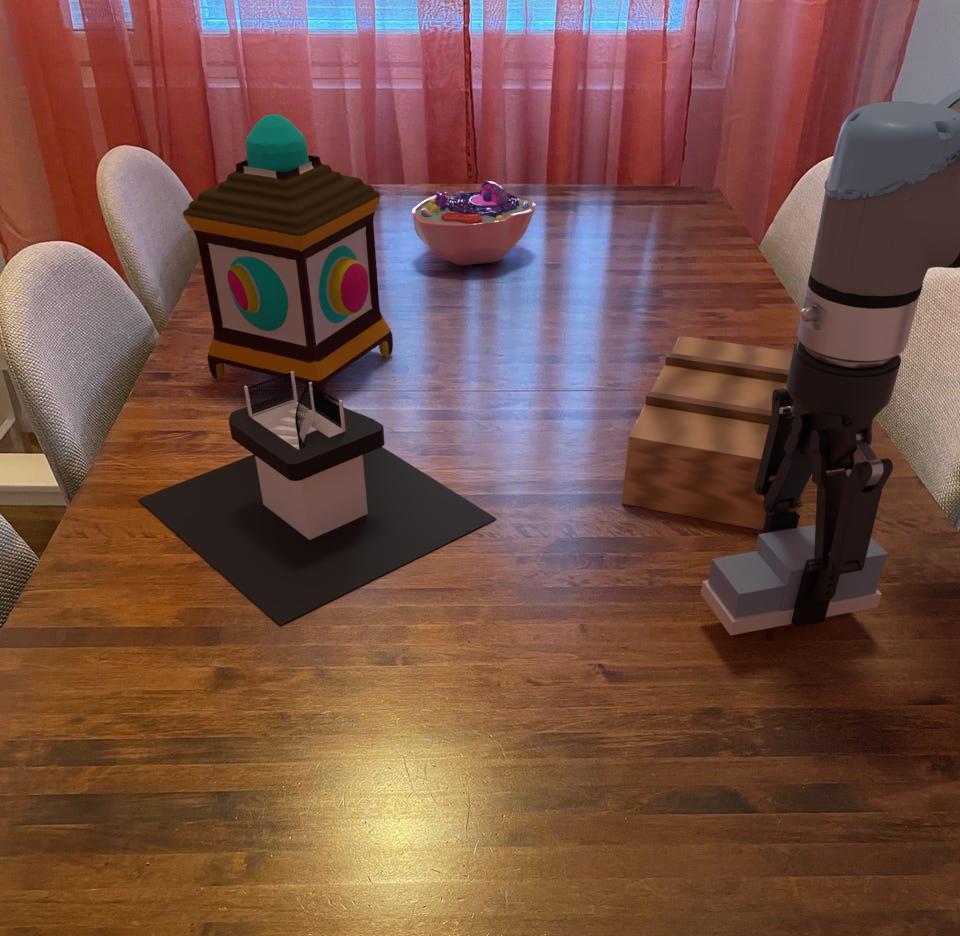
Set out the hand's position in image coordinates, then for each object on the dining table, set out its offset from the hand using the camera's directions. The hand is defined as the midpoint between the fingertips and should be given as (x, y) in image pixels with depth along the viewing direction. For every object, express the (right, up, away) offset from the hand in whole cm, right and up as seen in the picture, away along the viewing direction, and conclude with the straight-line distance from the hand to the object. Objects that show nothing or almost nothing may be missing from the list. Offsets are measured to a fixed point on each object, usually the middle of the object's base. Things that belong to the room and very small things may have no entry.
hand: (788, 598), depth 86 cm
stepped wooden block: (0, +17, +25) cm, 30 cm away
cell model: (-28, +58, +73) cm, 97 cm away
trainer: (0, 0, 0) cm, 0 cm away
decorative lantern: (-50, +32, +43) cm, 73 cm away
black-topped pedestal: (-44, +10, +17) cm, 49 cm away
